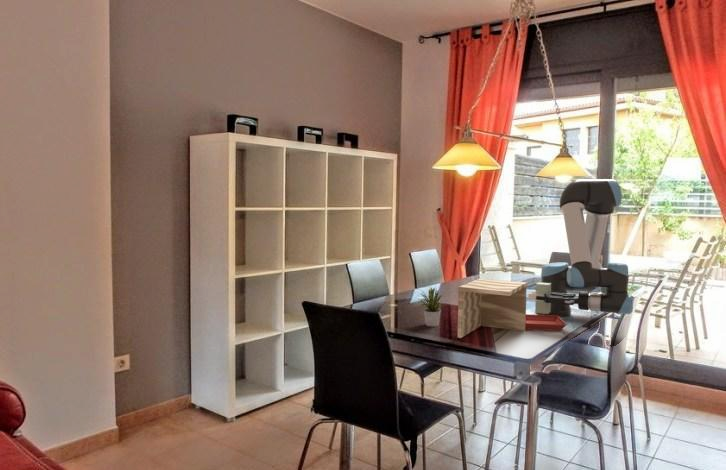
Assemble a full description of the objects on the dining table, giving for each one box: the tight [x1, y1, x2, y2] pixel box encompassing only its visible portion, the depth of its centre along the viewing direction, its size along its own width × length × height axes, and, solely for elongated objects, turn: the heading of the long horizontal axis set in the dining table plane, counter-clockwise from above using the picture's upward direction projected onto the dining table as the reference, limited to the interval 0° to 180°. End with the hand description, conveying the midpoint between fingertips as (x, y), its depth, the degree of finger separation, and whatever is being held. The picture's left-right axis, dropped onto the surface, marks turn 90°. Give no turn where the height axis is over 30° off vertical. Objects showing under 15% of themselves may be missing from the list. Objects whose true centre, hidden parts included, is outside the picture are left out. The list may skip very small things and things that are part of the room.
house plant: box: [417, 286, 447, 327], centre depth 225 cm, size 14×14×16 cm
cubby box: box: [457, 278, 528, 339], centre depth 210 cm, size 24×20×20 cm
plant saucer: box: [525, 313, 567, 332], centre depth 224 cm, size 18×18×3 cm
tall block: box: [534, 281, 551, 314], centre depth 222 cm, size 5×5×12 cm
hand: (530, 295), depth 225 cm, fingers closed on tall block, 5 cm apart
